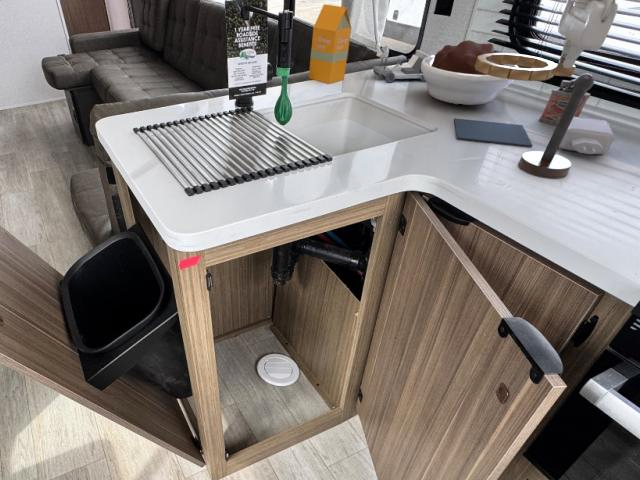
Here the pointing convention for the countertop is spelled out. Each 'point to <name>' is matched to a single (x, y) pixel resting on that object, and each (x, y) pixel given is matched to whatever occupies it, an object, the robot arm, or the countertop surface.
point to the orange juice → (330, 45)
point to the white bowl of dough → (461, 75)
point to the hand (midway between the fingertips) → (564, 65)
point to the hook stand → (557, 138)
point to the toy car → (400, 66)
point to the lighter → (560, 103)
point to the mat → (491, 132)
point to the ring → (539, 72)
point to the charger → (588, 136)
